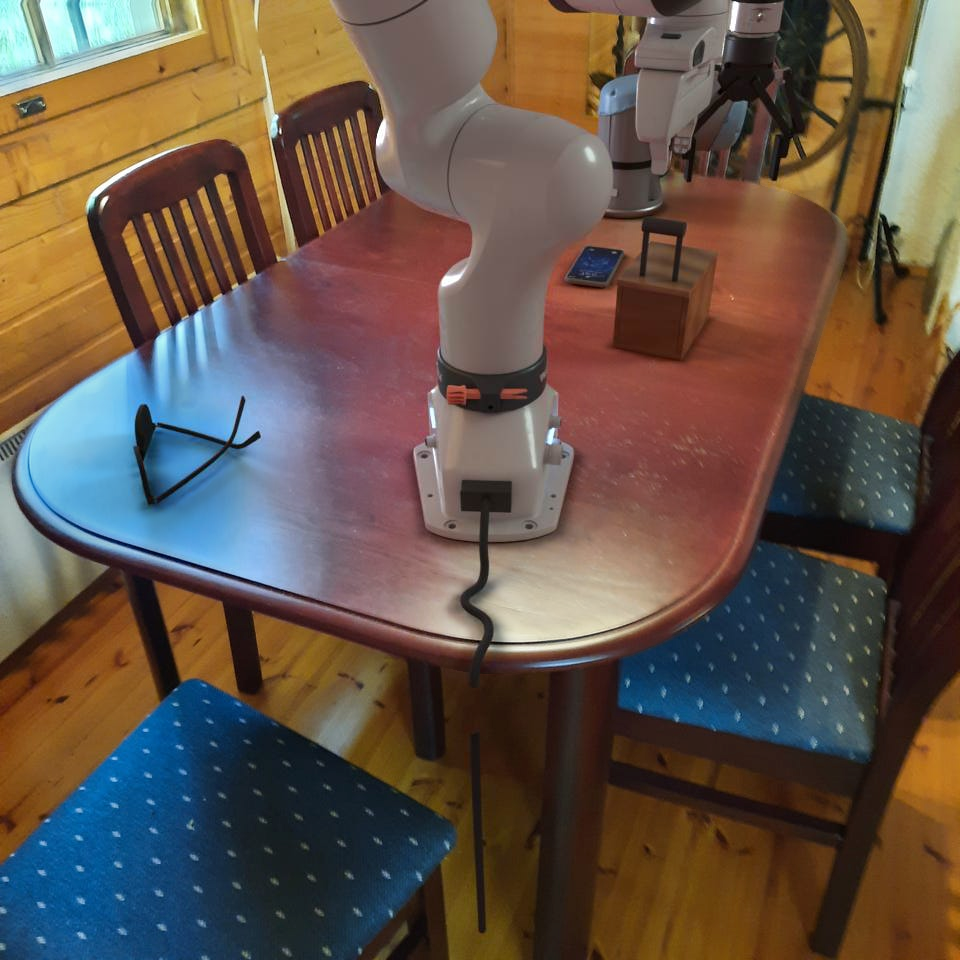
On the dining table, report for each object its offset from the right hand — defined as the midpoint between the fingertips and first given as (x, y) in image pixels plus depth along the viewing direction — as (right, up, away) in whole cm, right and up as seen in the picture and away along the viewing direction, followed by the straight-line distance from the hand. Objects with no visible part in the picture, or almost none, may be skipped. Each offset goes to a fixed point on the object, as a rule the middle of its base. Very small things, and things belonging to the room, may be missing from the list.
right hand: (729, 179), depth 138 cm
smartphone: (-21, -13, +6) cm, 26 cm away
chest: (-14, -27, -13) cm, 33 cm away
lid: (-14, -19, -19) cm, 31 cm away
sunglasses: (-73, -46, -36) cm, 94 cm away
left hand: (-17, -9, -32) cm, 37 cm away
